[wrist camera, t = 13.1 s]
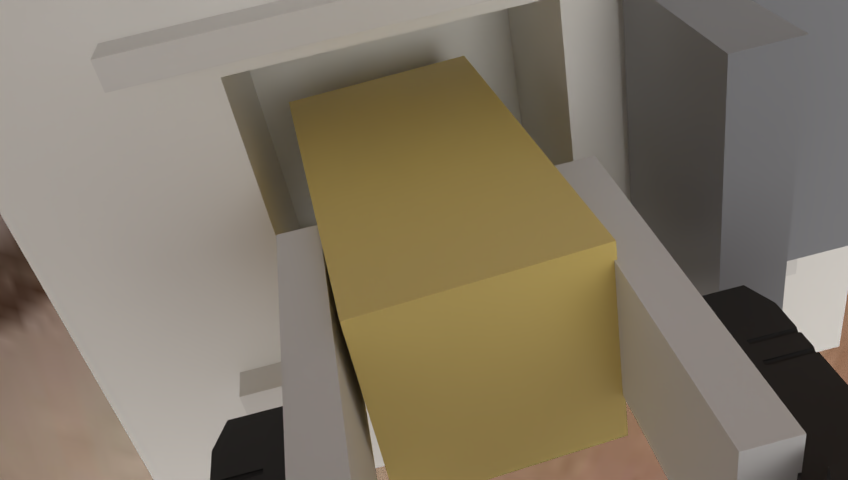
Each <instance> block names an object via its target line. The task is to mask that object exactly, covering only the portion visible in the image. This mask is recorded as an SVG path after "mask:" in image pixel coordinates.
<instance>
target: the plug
mask: <svg viewBox="0 0 848 480" xmlns="http://www.w3.org/2000/svg"><path fill="white" fill-rule="evenodd" d="M289 105H290V110H291V114H292V118H293V123H294V127H295V131H296V136H297V140H298V144H299V149H300V153H301V157H302V161H303V166H304V170H305V174H306V179H307V183H308V187H309V192H310V196H311V200H312V205H313V209H314V213H315V218H316V222H317V226H318V230H319V235H320V239H321V243H322V248H323V252H324V256H325V261H326V265H327V269H328V274H329V278H330V282H331V287H332V291H333V295H334V299H335V304H336V308H337V312H338V317H339V321H340V324H341V328H342V331H343V334H344V337H345V340H346V343H347V347H348V350H349V353H350V356H351V359H352V363H353V366H354V369H355V372H356V375H357V378H358V382H359V385H360V388H361V391H362V394H363V398H364V401H365V404H366V407H367V410H368V413H369V417H370V420H371V423H372V426H373V429H374V433H375V436H376V439H377V442H378V445H379V448H380V452H381V455H382V458H383V461H384V464H385V468H386V471H387V474H388V477H389V480H488V479H491V478H494V477H498V476H501V475H504V474H507V473H510V472H513V471H517V470H520V469H523V468H526V467H529V466H532V465H536V464H539V463H542V462H545V461H548V460H551V459H555V458H558V457H561V456H564V455H567V454H570V453H574V452H577V451H580V450H583V449H586V448H589V447H593V446H596V445H599V444H602V443H605V442H608V441H611V440H615V439H618V438H621V437H624V436H627V435H628V428H627V412H626V400H625V398H624V396H623V389H622V373H621V357H620V341H619V325H618V309H617V294H616V278H615V262H614V260H617V247H616V240H615V239H614V238H613V236H612V235H611V234H610V233H609V232H608V230H607V229H606V228H605V227H604V225H603V224H602V223H601V222H600V221H599V219H598V218H597V217H596V216H595V214H594V213H593V212H592V211H591V210H590V208H589V207H588V206H587V205H586V203H585V202H584V201H583V200H582V199H581V197H580V196H579V195H578V194H577V193H576V191H575V190H574V189H573V188H572V186H571V185H570V184H569V183H568V182H567V180H566V179H565V178H564V177H563V175H562V174H561V173H560V172H559V171H558V169H557V168H556V167H555V166H554V165H553V163H552V162H551V161H550V160H549V158H548V157H547V156H546V155H545V154H544V152H543V151H542V150H541V149H540V147H539V146H538V145H537V144H536V143H535V141H534V140H533V139H532V138H531V136H530V135H529V134H528V133H527V132H526V130H525V129H524V128H523V127H522V126H521V124H520V123H519V122H518V121H517V119H516V118H515V117H514V116H513V115H512V113H511V112H510V111H509V110H508V108H507V107H506V106H505V105H504V104H503V102H502V101H501V100H500V99H499V97H498V96H497V95H496V94H495V93H494V91H493V90H492V89H491V88H490V87H489V85H488V84H487V83H486V82H485V80H484V79H483V78H482V77H481V76H480V74H479V73H478V72H477V71H476V69H475V68H474V67H473V66H472V65H471V63H470V62H469V61H468V60H467V59H466V57H465V56H461V57H457V58H453V59H450V60H446V61H442V62H438V63H434V64H431V65H427V66H423V67H419V68H416V69H412V70H408V71H404V72H401V73H397V74H393V75H389V76H386V77H382V78H378V79H374V80H370V81H367V82H363V83H359V84H355V85H352V86H348V87H344V88H340V89H337V90H333V91H329V92H325V93H322V94H318V95H314V96H310V97H307V98H303V99H299V100H295V101H291V102H289Z"/></svg>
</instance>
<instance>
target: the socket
mask: <svg viewBox="0 0 848 480" xmlns="http://www.w3.org/2000/svg"><path fill="white" fill-rule="evenodd" d="M461 56H465V57H466V59H467V60H468V61H469V62H470V63H471V65H472V66H473V67H474V68H475V69H476V71H477V72H478V73H479V74H480V76H481V77H482V78H483V79H484V80H485V82H486V83H487V84H488V85H489V87H490V88H491V89H492V90H493V91H494V93H495V94H496V95H497V96H498V97H499V99H500V100H501V101H502V102H503V104H504V105H505V106H506V107H507V108H508V110H509V111H510V112H511V113H512V115H513V116H514V117H515V118H516V119H517V121H518V122H519V123H520V124H521V126H522V127H523V128H524V129H525V130H526V132H527V133H528V134H529V135H530V136H531V138H532V139H533V140H534V141H535V143H536V144H537V145H538V146H539V147H540V149H541V150H542V151H543V152H544V154H545V155H546V156H547V157H548V158H549V160H550V161H551V162H552V163H553V165H554V166H555V165H559V164H563V163H568V162H572V161H576V160H580V159H584V158H588V157H592V156H596V158H597V159H598V160H599V162H600V163H601V164H602V166H603V167H604V168H605V170H606V171H607V172H608V173H609V175H610V176H611V177H612V179H613V180H614V181H615V183H616V184H617V185H618V187H619V188H620V189H621V191H622V192H623V193H624V195H625V196H626V197H627V198H628V200H629V201H630V202H631V198H630V173H629V148H628V122H627V97H626V72H625V46H624V21H623V0H0V214H1V216H2V218H3V220H4V221H5V223H6V225H7V226H8V228H9V230H10V232H11V233H12V235H13V237H14V239H15V240H16V242H17V244H18V246H19V247H20V249H21V251H22V252H23V254H24V256H25V258H26V259H27V261H28V263H29V265H30V266H31V268H32V270H33V272H34V273H35V275H36V277H37V278H38V280H39V282H40V284H41V285H42V287H43V289H44V291H45V292H46V294H47V296H48V298H49V299H50V301H51V303H52V304H53V306H54V308H55V310H56V311H57V313H58V315H59V317H60V318H61V320H62V322H63V324H64V325H65V327H66V329H67V330H68V332H69V334H70V336H71V337H72V339H73V341H74V343H75V344H76V346H77V348H78V350H79V351H80V353H81V355H82V356H83V358H84V360H85V362H86V363H87V365H88V367H89V369H90V370H91V372H92V374H93V376H94V377H95V379H96V381H97V382H98V384H99V386H100V388H101V389H102V391H103V393H104V395H105V396H106V398H107V400H108V402H109V403H110V405H111V407H112V408H113V410H114V412H115V414H116V415H117V417H118V419H119V421H120V422H121V424H122V426H123V428H124V429H125V431H126V433H127V434H128V436H129V438H130V440H131V441H132V443H133V445H134V447H135V448H136V450H137V452H138V454H139V455H140V457H141V459H142V460H143V462H144V464H145V466H146V467H147V469H148V471H149V473H150V474H151V476H152V478H153V480H210V471H211V454H212V449H213V448H214V446H215V444H216V442H217V440H218V438H219V436H220V434H221V432H222V430H223V428H224V426H225V424H226V422H227V420H230V419H234V418H238V417H242V416H246V415H250V414H254V413H258V412H261V411H265V410H269V409H273V408H277V407H281V406H283V399H282V373H281V347H280V321H279V294H278V268H277V242H276V235H278V234H282V233H286V232H290V231H294V230H298V229H302V228H306V227H310V226H314V225H317V222H316V218H315V213H314V209H313V205H312V200H311V196H310V192H309V187H308V183H307V179H306V174H305V170H304V166H303V161H302V157H301V153H300V149H299V144H298V140H297V136H296V131H295V127H294V123H293V118H292V114H291V110H290V105H289V102H291V101H295V100H299V99H303V98H307V97H310V96H314V95H318V94H322V93H325V92H329V91H333V90H337V89H340V88H344V87H348V86H352V85H355V84H359V83H363V82H367V81H370V80H374V79H378V78H382V77H386V76H389V75H393V74H397V73H401V72H404V71H408V70H412V69H416V68H419V67H423V66H427V65H431V64H434V63H438V62H442V61H446V60H450V59H453V58H457V57H461ZM847 292H848V246H845V247H841V248H837V249H833V250H829V251H825V252H821V253H817V254H814V255H810V256H806V257H802V258H798V259H794V260H790V261H787V267H786V278H785V288H784V298H783V309H782V311H783V312H784V313H785V314H786V315H787V316H788V318H789V319H790V320H791V321H792V322H793V323H794V324H795V326H796V327H797V330H798V332H802V334H803V335H804V336H805V337H806V338H807V339H808V340H809V342H810V343H811V344H812V345H813V346H814V349H815V351H816V352H819V351H823V350H827V349H831V348H834V347H838V346H839V344H840V337H841V331H842V324H843V318H844V311H845V305H846V298H847ZM365 405H366V404H365ZM366 412H367V418H368V424H369V431H370V437H371V443H372V450H373V456H374V462H375V468H379V467H383V466H385V464H384V461H383V458H382V455H381V452H380V448H379V445H378V442H377V439H376V436H375V433H374V429H373V426H372V423H371V420H370V417H369V413H368V410H367V407H366Z"/></svg>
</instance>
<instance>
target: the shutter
mask: <svg viewBox="0 0 848 480" xmlns="http://www.w3.org/2000/svg"><path fill="white" fill-rule="evenodd" d="M623 21H624V46H625V72H626V97H627V122H628V148H629V173H630V198H631V204H632V205H633V206H634V208H635V209H636V210H637V212H638V213H639V214H640V216H641V217H642V218H643V219H644V221H645V222H646V223H647V225H648V226H649V227H650V229H651V230H652V231H653V233H654V234H655V235H656V237H657V238H658V239H659V241H660V242H661V243H662V244H663V246H664V247H665V248H666V250H667V251H668V252H669V254H670V255H671V256H672V258H673V259H674V260H675V262H676V263H677V264H678V265H679V267H680V268H681V269H682V271H683V272H684V273H685V275H686V276H687V277H688V279H689V280H690V281H691V283H692V284H693V285H694V287H695V288H696V289H697V290H698V292H699V293H700V294H701V296H703V295H707V294H711V293H715V292H719V291H722V290H726V289H730V288H734V287H738V286H742V285H744V286H746V287H748V288H750V289H752V290H753V291H755V292H757V293H759V294H761V295H762V296H764V297H766V298H768V299H770V300H771V301H773V302H775V303H776V304H777V305H778V306H779V307H780V308H781V310H782V309H783V298H784V288H785V278H786V267H787V261H790V260H794V259H798V258H802V257H806V256H810V255H814V254H817V253H821V252H825V251H829V250H833V249H837V248H841V247H845V246H848V0H623Z"/></svg>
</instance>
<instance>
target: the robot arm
mask: <svg viewBox="0 0 848 480" xmlns="http://www.w3.org/2000/svg"><path fill="white" fill-rule="evenodd" d="M555 167H556V168H557V169H558V171H559V172H560V173H561V174H562V175H563V177H564V178H565V179H566V180H567V182H568V183H569V184H570V185H571V186H572V188H573V189H574V190H575V191H576V193H577V194H578V195H579V196H580V197H581V199H582V200H583V201H584V202H585V203H586V205H587V206H588V207H589V208H590V210H591V211H592V212H593V213H594V214H595V216H596V217H597V218H598V219H599V221H600V222H601V223H602V224H603V225H604V227H605V228H606V229H607V230H608V232H609V233H610V234H611V235H612V236H613V238H614V239H615V240H616V247H617V260H614V262H615V278H616V294H617V309H618V325H619V341H620V357H621V373H622V389H623V396H624V398H625V400H626V402H627V404H628V405H629V407H630V409H631V411H632V413H633V415H634V417H635V419H636V420H637V422H638V424H639V426H640V428H641V430H642V432H643V433H644V435H645V437H646V439H647V441H648V443H649V445H650V447H651V448H652V450H653V452H654V454H655V456H656V458H657V460H658V462H659V463H660V465H661V467H662V469H663V471H664V473H665V475H666V476H667V478H668V480H848V385H847V384H846V383H845V381H844V380H843V379H842V378H841V377H840V376H839V375H838V373H837V372H836V371H835V370H834V369H833V368H832V367H831V365H830V364H829V363H828V362H827V361H826V360H825V359H824V357H823V356H822V355H821V354H820V353H819V352H817V353H816V351H815V349H814V346H813V345H812V344H811V343H810V342H809V340H808V339H807V338H806V337H805V336H804V335H803V334H802V332H798V330H797V327H796V326H795V324H794V323H793V322H792V321H791V320H790V319H789V318H788V316H787V315H786V314H785V313H784V312H783V311H782V310H781V308H780V307H779V306H778V305H777V304H776V303H775V302H773V301H771V300H770V299H768V298H766V297H764V296H762V295H761V294H759V293H757V292H755V291H753V290H752V289H750V288H748V287H746V286H744V285H742V286H738V287H734V288H730V289H726V290H722V291H719V292H715V293H711V294H707V295H703V296H701V294H700V293H699V292H698V290H697V289H696V288H695V287H694V285H693V284H692V283H691V281H690V280H689V279H688V277H687V276H686V275H685V273H684V272H683V271H682V269H681V268H680V267H679V265H678V264H677V263H676V262H675V260H674V259H673V258H672V256H671V255H670V254H669V252H668V251H667V250H666V248H665V247H664V246H663V244H662V243H661V242H660V241H659V239H658V238H657V237H656V235H655V234H654V233H653V231H652V230H651V229H650V227H649V226H648V225H647V223H646V222H645V221H644V219H643V218H642V217H641V216H640V214H639V213H638V212H637V210H636V209H635V208H634V206H633V205H632V204H631V202H630V201H629V200H628V198H627V197H626V196H625V195H624V193H623V192H622V191H621V189H620V188H619V187H618V185H617V184H616V183H615V181H614V180H613V179H612V177H611V176H610V175H609V173H608V172H607V171H606V170H605V168H604V167H603V166H602V164H601V163H600V162H599V160H598V159H597V158H596V156H592V157H588V158H584V159H580V160H576V161H572V162H568V163H563V164H559V165H555ZM276 242H277V268H278V294H279V321H280V347H281V373H282V399H283V406H281V407H277V408H273V409H269V410H265V411H261V412H258V413H254V414H250V415H246V416H242V417H238V418H234V419H230V420H227V422H226V424H225V426H224V428H223V430H222V432H221V434H220V436H219V438H218V440H217V442H216V444H215V446H214V448H213V449H212V454H211V471H210V480H377V475H376V469H375V462H374V456H373V450H372V443H371V437H370V431H369V424H368V418H367V412H366V405H365V401H364V398H363V394H362V391H361V388H360V385H359V382H358V378H357V375H356V372H355V369H354V366H353V363H352V359H351V356H350V353H349V350H348V347H347V343H346V340H345V337H344V334H343V331H342V328H341V324H340V321H339V317H338V312H337V308H336V304H335V299H334V295H333V291H332V287H331V282H330V278H329V274H328V269H327V265H326V261H325V256H324V252H323V248H322V243H321V239H320V235H319V230H318V226H317V225H314V226H310V227H306V228H302V229H298V230H294V231H290V232H286V233H282V234H278V235H276Z"/></svg>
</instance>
